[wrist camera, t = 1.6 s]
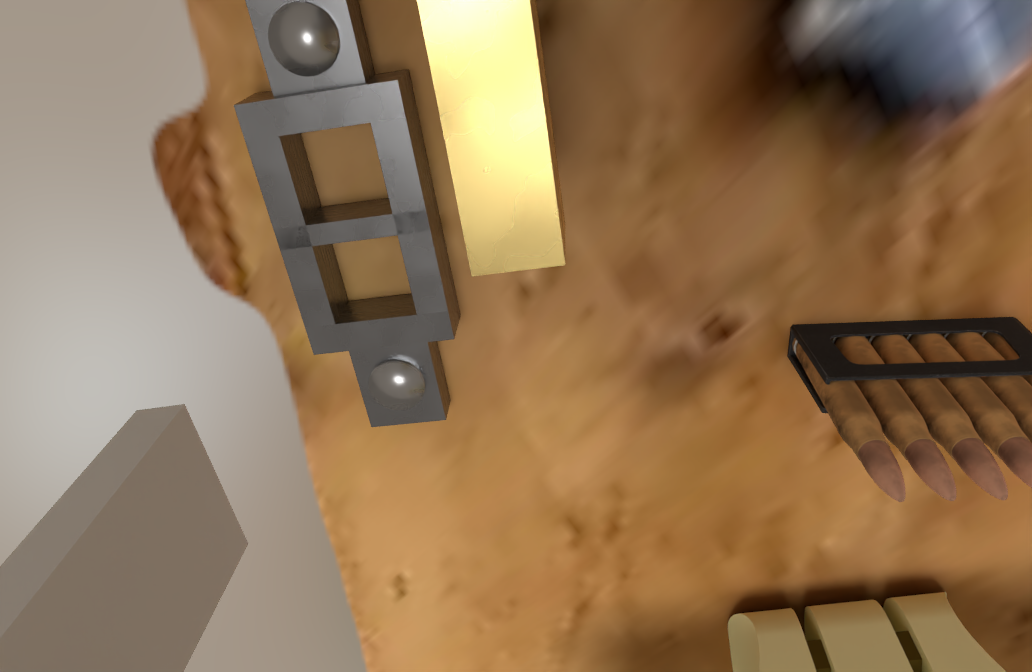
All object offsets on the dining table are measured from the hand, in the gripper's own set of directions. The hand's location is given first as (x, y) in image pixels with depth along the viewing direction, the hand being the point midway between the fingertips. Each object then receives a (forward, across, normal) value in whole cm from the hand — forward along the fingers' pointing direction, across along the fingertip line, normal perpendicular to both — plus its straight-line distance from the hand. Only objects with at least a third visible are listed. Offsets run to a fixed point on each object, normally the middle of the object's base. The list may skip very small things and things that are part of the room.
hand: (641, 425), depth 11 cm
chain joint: (+25, -11, -4) cm, 28 cm away
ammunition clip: (+25, +14, -14) cm, 32 cm away
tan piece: (+25, -3, +1) cm, 25 cm away
